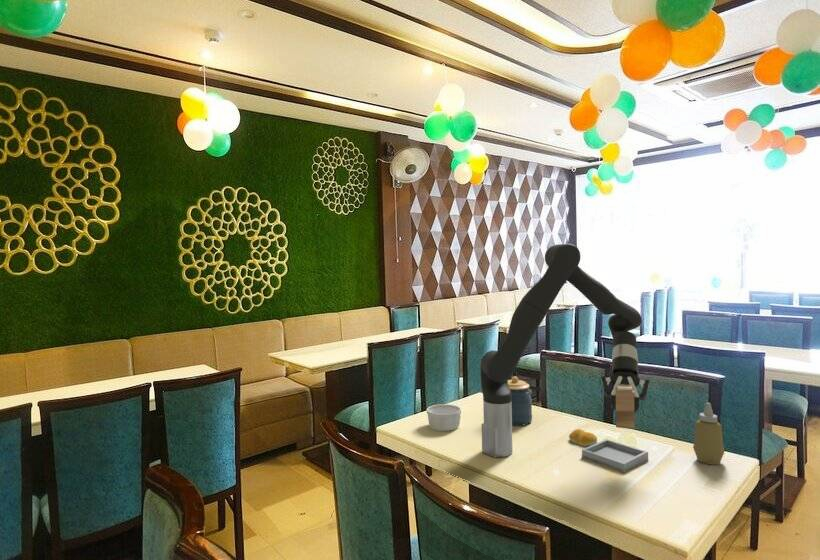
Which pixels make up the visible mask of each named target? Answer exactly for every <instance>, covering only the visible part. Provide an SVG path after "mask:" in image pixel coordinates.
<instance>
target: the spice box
mask: <svg viewBox="0 0 820 560" xmlns="http://www.w3.org/2000/svg"><path fill="white" fill-rule="evenodd" d="M615 428H620V429H629V430H636V429H635V412H634V389H632V385H624V384H618V386H617V388H616V410H615Z"/></svg>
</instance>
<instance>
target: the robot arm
mask: <svg viewBox="0 0 820 560" xmlns="http://www.w3.org/2000/svg"><path fill="white" fill-rule="evenodd" d="M544 261H545V264H546V266H547V269H546V271H545V273H544V274H543V275H542V277H541V278H540V279H539V280H538V281H537V282H536V283H535V284H534V285H533V286H532V287H531V288H530V289H529V290H528V291H527V292H526V293H525V294H524V296H523V297H522V298H521V300H520V301H519V303H518V304H517V307H516V308H515V310H514V312H513V314H512V317H511V320H510V324H509V327H508V330H507V335H506V337H505V339H504V341H503V342H502V343H501V345H500V346H499V347H498V350H490V351H489V350H488V351H487V352H486V353H484V355H483V356H481V357H482V358H481V359H480V360H481V361H480V370H479V371H480V386H481V392H482V397H483V398H482V400H483V401H482V403H483V405H482V406H483V423H481V453H482V454H483V453H484V454H486V455H488V456H489V457H490V456H491V457H493V458H495V459H497V458H502V457H503V458H505V457H508V456H511V455H512V454H513V425H512V397H511V391H510V389H509V386H508V380H510V379H511V378H512V377H513V374H514V373H515V371H516V368H517V366H518V364H519V362H520V360H521V358H522V356H523V354H524V352H525V350H526V348H527V346H528V345H529V343H530V341H531V340H532V338H533V337H534V335H535V333H536V332H537V330H538V329H539V327H540V326H541V323H542V322H543V320H544V319H545V317H546V315H547V314H548V312H549V310H550V308H551V306H552V305H553V303H555V302H554V301H555V300H556V299H557V296H558V295H559V293H560V291H561V290H562V288H563V287H564V285H565V283H567V282H568V283H569V284H570V285H572V286H573V287H574V288H576V290H577V291H579V292H580V293H581V294H582V295H583V296H584V297H585V298H586V299H587V300H588V301H589V302H590V303H591V304H592V305H593V306H594V307H595V308H596V309H597V310H598V311H599V312H600V313H601V314H603V315H605V316H607V315H611V316H610V317H609V319H608V321H607V325H608V328H609V331H610V333H611V337H612V354H611V375H610V377H606V376H605V375H603V376H601V385H602V388H603V393H604V396H605V397H606V398H610V407H611V409H613V411H616V388H617V386H618V384H624V385H632V389H634V413H638V412H637V411H639V410H640V402H641V401H645V400H646V399H647V395H648V391H649V388H650V380H649V379H645V380H644V379H641V378H640V377H639V361H638V360H639V359H638V356H639V355H638V351H637V347H638V346H637V345H638V344H637V337H636V335H635V334H634V333H633V332H631V331H632V330H635V329H638V328H639V327H640V326H641V325H642V323H643V319H642V315H641V314H640V312H639V311H638V310H637V309H636V308H635V307H633V306H631V305H630V304H628V303H626V302H624V301H623V300H621V299H619V298H617V297H616V296H615V295H614V294H613V293H612V292H611V291H610V289H608V288H607V287H606V286H605V285H604V284H603V283H602V282H600V281H599V280H597V279H596V278H594V277H592V276H591V275H590V274H588V273H586V271H584V270H583V269H582V268H581V267H580V266H579V264H580V261H581V252H580V250H579V248H578V247H577V246H576V245H574V244H572V243H561V244H559V243H558V244H554V245H552V246H550V247H548V248H547V249H546V251H545V254H544ZM610 382H611V384H612V385H613V389H612V391H610V389H609V386H608V385H610ZM638 385H640V386H641V388H642V390H641V393H638V389H637V386H638Z"/></svg>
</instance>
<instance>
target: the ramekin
mask: <svg viewBox="0 0 820 560" xmlns="http://www.w3.org/2000/svg"><path fill="white" fill-rule="evenodd" d="M461 414H462V408H461V407H460V406H458V405H455V404H449V403H445V404H444V403H441V404H433V405H431V406H428V407H427V408H426V415H427V419H428V424H429V427H430V428H431V429H432V430H433V431H436V430H439V431H438V432H450V431H449V430H452V431H454V430H453V429H455V430H457V429H458V428H459V427H460V424H461V423H460V422H461ZM456 428H457V429H456Z"/></svg>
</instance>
